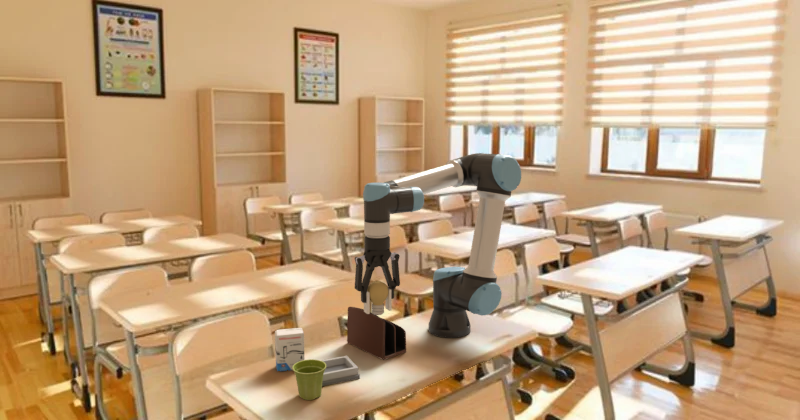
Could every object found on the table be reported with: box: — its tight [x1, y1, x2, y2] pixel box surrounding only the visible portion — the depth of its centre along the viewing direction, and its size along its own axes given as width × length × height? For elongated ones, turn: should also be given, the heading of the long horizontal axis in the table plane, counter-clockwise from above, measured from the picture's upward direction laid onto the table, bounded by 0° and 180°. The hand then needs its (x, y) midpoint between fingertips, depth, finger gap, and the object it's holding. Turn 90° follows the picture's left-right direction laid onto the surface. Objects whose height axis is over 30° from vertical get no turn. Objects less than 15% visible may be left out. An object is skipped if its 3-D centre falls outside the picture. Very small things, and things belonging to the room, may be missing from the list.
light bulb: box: [367, 281, 388, 316], centre depth 180 cm, size 6×6×10 cm
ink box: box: [274, 327, 305, 372], centre depth 187 cm, size 9×5×12 cm, turn 105°
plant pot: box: [292, 358, 326, 401], centre depth 168 cm, size 9×9×9 cm
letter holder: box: [346, 306, 407, 361], centre depth 202 cm, size 10×20×14 cm, turn 41°
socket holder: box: [320, 355, 361, 387], centre depth 181 cm, size 13×12×3 cm
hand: (377, 310), depth 180 cm, fingers closed on light bulb, 6 cm apart
